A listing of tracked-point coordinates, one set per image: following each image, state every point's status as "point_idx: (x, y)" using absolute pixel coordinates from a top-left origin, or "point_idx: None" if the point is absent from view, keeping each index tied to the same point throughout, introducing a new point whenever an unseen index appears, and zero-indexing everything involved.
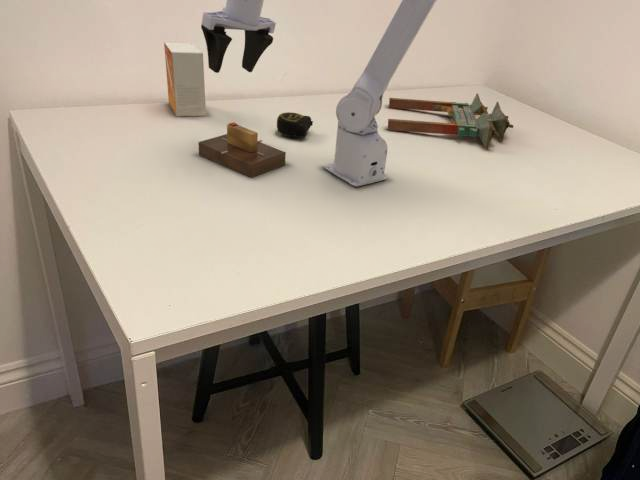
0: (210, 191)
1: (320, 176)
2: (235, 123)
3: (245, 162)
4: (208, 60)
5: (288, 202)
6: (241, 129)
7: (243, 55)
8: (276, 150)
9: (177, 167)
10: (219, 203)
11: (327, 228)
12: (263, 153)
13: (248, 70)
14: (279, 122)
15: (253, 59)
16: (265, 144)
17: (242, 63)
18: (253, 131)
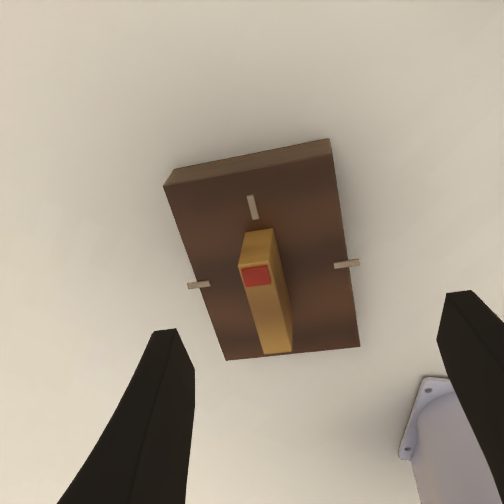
0: (116, 342)
1: (380, 394)
2: (266, 278)
3: (220, 344)
4: (137, 368)
5: (233, 430)
6: (260, 314)
7: (487, 354)
8: (345, 329)
9: (87, 215)
10: (113, 382)
11: (235, 496)
12: (297, 328)
13: (439, 341)
14: None
15: (477, 428)
16: (349, 286)
17: (456, 313)
18: (285, 340)
